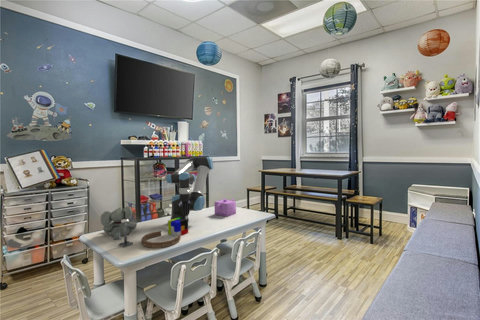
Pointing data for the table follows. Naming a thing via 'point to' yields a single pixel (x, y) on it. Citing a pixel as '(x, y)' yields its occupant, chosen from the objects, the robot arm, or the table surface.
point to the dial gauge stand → (126, 233)
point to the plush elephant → (116, 222)
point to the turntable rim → (158, 244)
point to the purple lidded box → (225, 207)
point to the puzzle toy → (177, 226)
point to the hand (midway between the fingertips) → (185, 224)
